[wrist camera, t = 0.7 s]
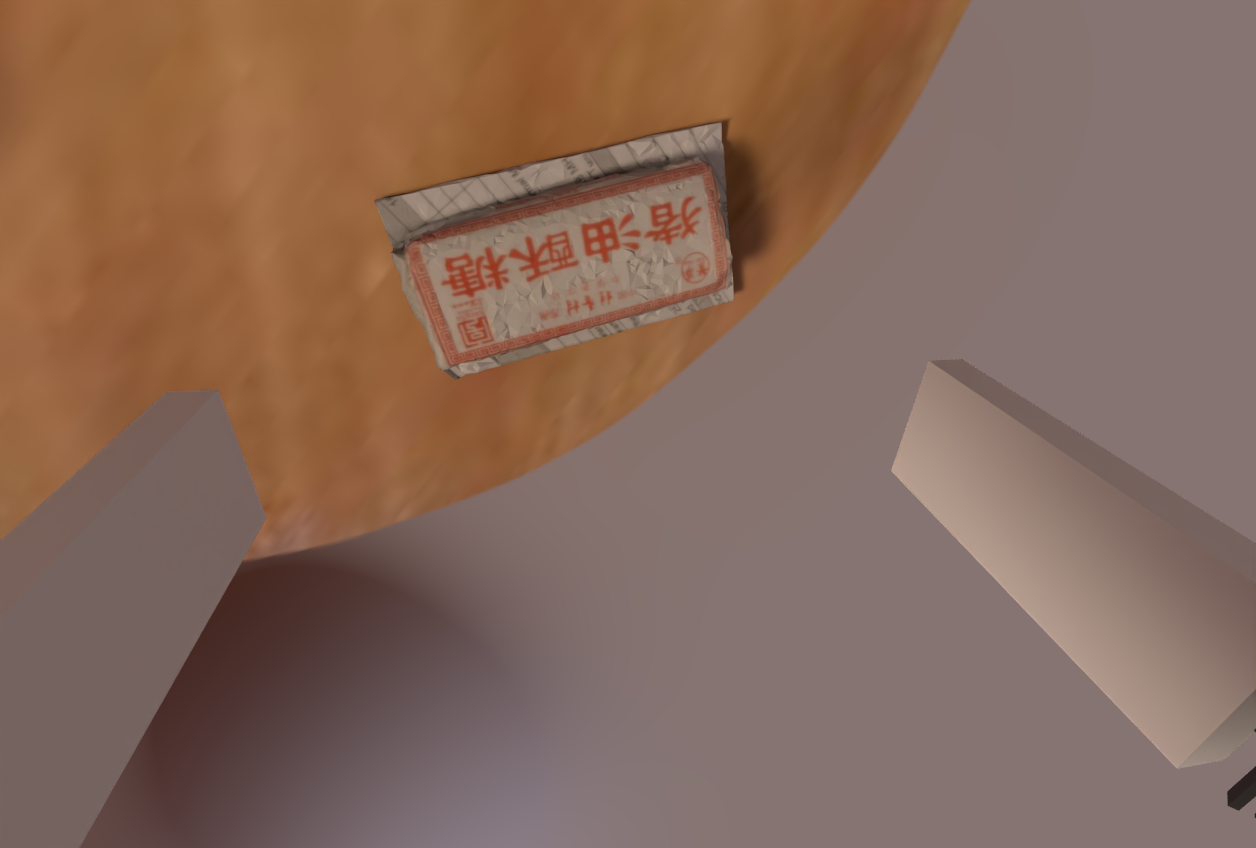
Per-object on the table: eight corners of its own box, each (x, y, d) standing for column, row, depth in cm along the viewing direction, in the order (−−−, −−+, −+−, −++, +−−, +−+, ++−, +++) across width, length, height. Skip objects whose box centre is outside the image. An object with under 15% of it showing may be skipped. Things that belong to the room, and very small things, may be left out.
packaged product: (447, 413, 29) (365, 218, 24) (444, 371, 33) (373, 196, 27) (762, 320, 32) (757, 126, 26) (725, 292, 36) (714, 117, 30)
